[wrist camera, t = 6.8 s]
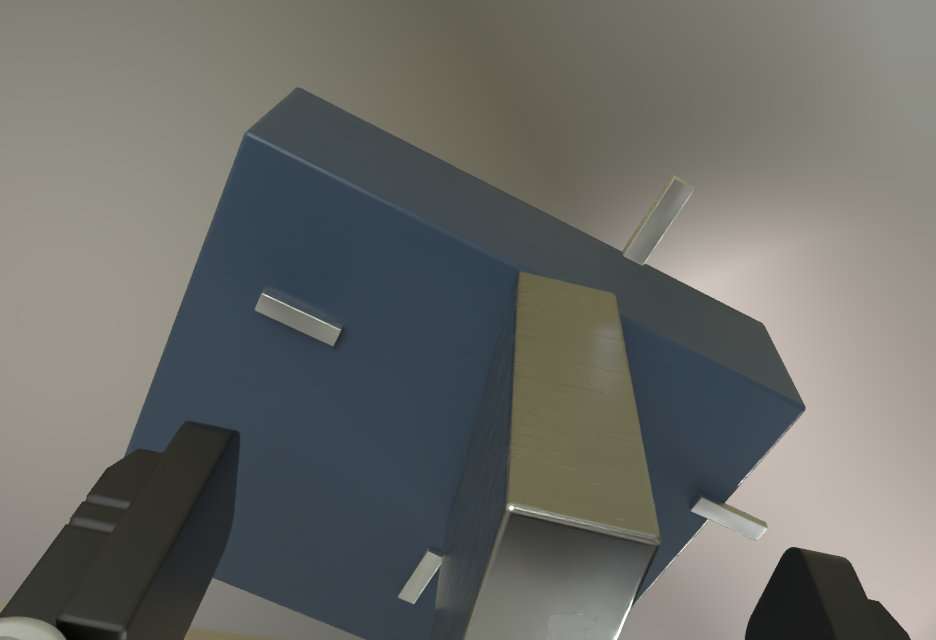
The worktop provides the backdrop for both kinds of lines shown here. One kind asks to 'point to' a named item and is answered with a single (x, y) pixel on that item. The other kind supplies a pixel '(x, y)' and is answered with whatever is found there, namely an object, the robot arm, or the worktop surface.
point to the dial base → (420, 363)
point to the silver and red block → (550, 480)
